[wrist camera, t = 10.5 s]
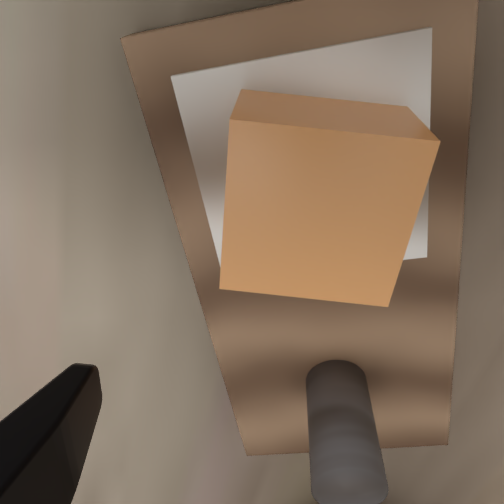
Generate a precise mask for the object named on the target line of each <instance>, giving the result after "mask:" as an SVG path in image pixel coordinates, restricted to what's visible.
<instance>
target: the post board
mask: <svg viewBox="0 0 504 504" xmlns="http://www.w3.org/2000/svg"><path fill="white" fill-rule="evenodd" d="M477 14H478V0H294V1H289V2H285V3H280V4H275V5H270V6H265V7H260V8H255V9H251V10H246V11H241V12H236V13H231V14H226V15H221V16H216V17H212V18H207V19H202V20H197V21H192V22H187V23H182V24H177V25H173V26H168V27H163V28H158V29H153V30H148V31H143V32H138V33H134V34H130V35H128V36H125V37H122V38H120V40H121V43H122V46H123V50H124V53H125V56H126V59H127V63H128V66H129V69H130V73H131V76H132V79H133V83H134V86H135V89H136V92H137V96H138V99H139V102H140V106H141V109H142V112H143V115H144V119H145V122H146V125H147V129H148V132H149V135H150V138H151V142H152V145H153V148H154V152H155V155H156V158H157V161H158V165H159V168H160V171H161V175H162V178H163V181H164V185H165V188H166V191H167V194H168V198H169V201H170V204H171V208H172V211H173V214H174V217H175V221H176V224H177V227H178V231H179V234H180V237H181V240H182V244H183V247H184V250H185V254H186V257H187V260H188V263H189V267H190V270H191V273H192V277H193V280H194V283H195V287H196V290H197V293H198V296H199V300H200V303H201V306H202V310H203V313H204V316H205V319H206V323H207V326H208V329H209V333H210V336H211V339H212V342H213V346H214V349H215V352H216V356H217V359H218V362H219V366H220V369H221V372H222V375H223V379H224V382H225V385H226V389H227V392H228V395H229V398H230V402H231V405H232V408H233V412H234V415H235V418H236V421H237V425H238V428H239V431H240V435H241V438H242V441H243V444H244V448H245V451H246V454H247V456H252V455H270V454H288V453H307V452H309V454H310V473H311V491H312V495H313V497H314V499H315V500H316V501H317V502H318V503H320V504H380V503H381V502H382V501H383V500H384V499H385V498H386V497H387V495H388V484H387V479H386V474H385V469H384V464H383V459H382V454H381V449H380V448H397V447H416V446H434V445H448V438H449V423H450V409H451V394H452V380H453V365H454V350H455V336H456V321H457V306H458V292H459V277H460V263H461V248H462V233H463V219H464V204H465V190H466V175H467V160H468V146H469V131H470V117H471V102H472V87H473V73H474V58H475V43H476V29H477ZM241 89H245V90H255V91H264V92H274V93H283V94H293V95H303V96H312V97H322V98H331V99H341V100H350V101H360V102H369V103H379V104H388V105H398V106H407V107H409V109H410V110H411V111H412V112H413V113H414V114H415V115H416V116H417V117H418V118H419V119H420V120H421V121H422V122H423V123H424V124H425V125H426V126H427V127H428V129H429V130H430V131H431V132H432V133H433V134H434V135H435V136H436V137H437V138H438V139H439V140H440V141H441V142H440V145H439V148H438V152H437V155H436V158H435V161H434V164H433V167H432V170H431V174H430V177H429V180H428V183H427V186H426V189H425V192H424V196H423V199H422V202H421V205H420V208H419V211H418V214H417V218H416V221H415V224H414V227H413V230H412V233H411V236H410V240H409V243H408V246H407V249H406V252H405V255H404V258H403V262H402V265H401V268H400V271H399V274H398V277H397V281H396V284H395V287H394V290H393V293H392V296H391V299H390V303H389V306H388V307H382V306H372V305H363V304H354V303H345V302H336V301H326V300H317V299H308V298H299V297H289V296H280V295H271V294H262V293H252V292H243V291H234V290H225V289H219V285H220V268H221V252H222V235H223V218H224V202H225V185H226V168H227V152H228V135H229V119H230V116H231V114H232V111H233V109H234V106H235V104H236V101H237V99H238V96H239V93H240V91H241Z"/></svg>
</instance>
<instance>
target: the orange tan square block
mask: <svg viewBox="0 0 504 504" xmlns="http://www.w3.org/2000/svg"><path fill="white" fill-rule="evenodd" d="M440 142H441V141H440V140H439V139H438V138H437V137H436V136H435V135H434V134H433V133H432V132H431V131H430V130H429V129H428V127H427V126H426V125H425V124H424V123H423V122H422V121H421V120H420V119H419V118H418V117H417V116H416V115H415V114H414V113H413V112H412V111H411V110H410V109H409V107H407V106H398V105H388V104H379V103H369V102H360V101H350V100H341V99H331V98H322V97H312V96H303V95H293V94H283V93H274V92H264V91H255V90H245V89H241V91H240V93H239V96H238V99H237V101H236V104H235V106H234V109H233V111H232V114H231V116H230V119H229V135H228V152H227V168H226V185H225V202H224V218H223V235H222V252H221V268H220V285H219V289H225V290H234V291H243V292H252V293H262V294H271V295H280V296H289V297H299V298H308V299H317V300H326V301H336V302H345V303H354V304H363V305H372V306H382V307H388V306H389V303H390V299H391V296H392V293H393V290H394V287H395V284H396V281H397V277H398V274H399V271H400V268H401V265H402V262H403V258H404V255H405V252H406V249H407V246H408V243H409V240H410V236H411V233H412V230H413V227H414V224H415V221H416V218H417V214H418V211H419V208H420V205H421V202H422V199H423V196H424V192H425V189H426V186H427V183H428V180H429V177H430V174H431V170H432V167H433V164H434V161H435V158H436V155H437V152H438V148H439V145H440Z"/></svg>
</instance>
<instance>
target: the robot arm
mask: <svg viewBox="0 0 504 504" xmlns="http://www.w3.org/2000/svg"><path fill="white" fill-rule="evenodd" d="M101 404H102V391H101V384H100V377H99V371H98V368H97V367H96V366H95V365H91V364H81V363H75V364H72V365H71V366H69V367H68V368H67V369H65V370H64V371H63V372H62V373H60V374H59V375H58V376H57V377H55V378H54V379H53V380H52V381H50V382H49V383H48V384H47V385H45V386H44V387H43V388H42V389H40V390H39V391H38V392H37V393H35V394H34V395H33V396H32V397H30V398H29V399H28V400H27V401H25V402H24V403H23V404H22V405H20V406H19V407H18V408H17V409H15V410H14V411H13V412H12V413H10V414H9V415H8V416H7V417H5V418H4V419H3V420H2V421H0V504H71V502H72V499H73V497H74V494H75V491H76V488H77V485H78V482H79V479H80V476H81V472H82V469H83V466H84V462H85V459H86V456H87V452H88V449H89V446H90V442H91V439H92V435H93V432H94V429H95V425H96V422H97V419H98V415H99V412H100V408H101Z"/></svg>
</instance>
